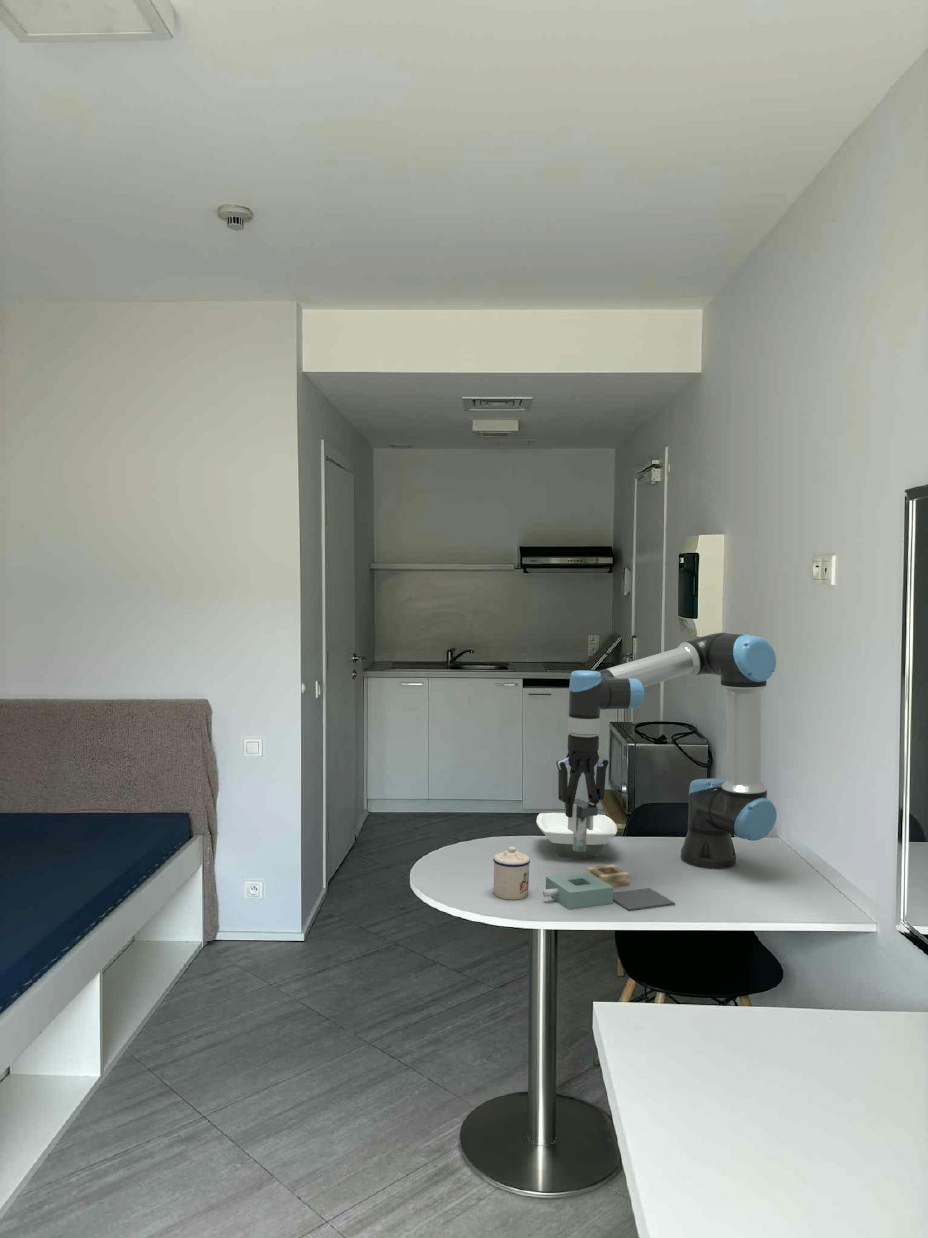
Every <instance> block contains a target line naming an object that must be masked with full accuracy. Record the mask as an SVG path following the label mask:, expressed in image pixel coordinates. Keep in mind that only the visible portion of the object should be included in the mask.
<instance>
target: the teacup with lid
mask: <svg viewBox="0 0 928 1238" xmlns="http://www.w3.org/2000/svg"><path fill="white" fill-rule="evenodd" d="M492 861H493V862H494V863H493V888H492V889H493V895H494V896H496V897H497V898H500V899H503V900H509V901H511V900H512V901H515V900H522V899H524V898H526V897H528V895H529V883H530V882H529V881H530V880H529V878H530V876H529V875H530V863H531V860H530V857H529V856H528V855H526V854H524V853H521V852H520V851H519V850H517V848H516V846H509V847H507V850H505V851H503V852H499V853H497V854H495V855H494V857H493V859H492Z"/></svg>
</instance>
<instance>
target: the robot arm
mask: <svg viewBox="0 0 928 1238" xmlns="http://www.w3.org/2000/svg"><path fill="white" fill-rule="evenodd" d="M776 667H777V657H776V653H775V650H774V648H773V647H772V645H771V644H770V643H769V641H768V640H766V639H765V638H763V637H761V636H756V635H752V634H743V633H742V634H740V633H727V632H717V633H712V634H711V633H710V634H707V635H704V636H700V637H698V638H694V639H691V640H688V641H683V642H682V643H679V644H678V645H677V648H673V649H670V650H666V651H663V652H660V653H657V654H653V655H649V656H646V657H643V658H639V659H635V660H631V661H629V662H626V663H622V664H618V665H615V666H612V667H608V668H605V669H600V670H598V671H597V670H585V669H584V670H574V671H572V672H571V674H570V678H569V687H568V692H569V694H568V695H569V696H568V697H569V698H568V724H567V725H568V726H567V727H568V728H567V729H568V733H569V734H568V736H567V751H568V752H567V754H566V756H565V758H563V760H556V762H555V763H556V767H557V769H558V772H557V773H558V776H557V777H558V779H557V780H558V782H557V783H558V790H557V791H558V801H560V802H563V803H564V804H565V803H566V808H565V812H564V813H565V814H566V816H567V817H568V829H569V830H571V831H573V832H576V811H577V805H576V804H574V800H575V799H576V796H577V791H578V785H579V781H580V778H581V777H582V774H584V776H585V784H586V785H585V786H586V793H587V798H588V800H586V801H585V802H587V803H590V804H592V805H594V806H596V807H597V805H598V804H599V803H600V801H603V800H604V799H605V792H606V791H605V789H606V773H607V768H608V765H609V760H608V759H605V758H601V757H600V754H599V753H598V751H599V748H600V745H599V744H600V737H599V734H600V721H601V720H600V716H601V710H629V709H630V710H631V709H637V708H639V707H641V706H642V704H643V702H644V700H645V688H646V687H649V686H653V685H656V684H659V683H662V682H665V681H669V680H672V679H675V678H678V677H682V676H688V677H695V676H699V675H716V676H720V686H721V688H723V689H724V690H725V692H726V764H727V765H726V775H727V776H726V777H727V778H697V779H694V780H692V781H691V782H690V783H689V791H688V817H687V818H688V820H687V833H686V836H685V839H684V842H683V845H682V847H681V850H680V859H681V860H682V861H683V862H684V863H686V864H688V865H691V866H695V867H699V868H705V869H718V870H719V869H721V870H722V869H729V868H733V867H735V866H736V865H737V854H736V850H735V846H734V842H733V839H732V835H733V836H735V837H738V838H739V839H743V840H747V841H753V842H755V841H756V842H757V841H760V840H762V839H764V838H766V837H767V836H768V835H769V834H770V832H771V831H772V830H773V829H774V827H775V825H776V822H777V818H778V817H777V815H778V814H777V813H778V812H777V808H776V805H774V803H773V801H771V800H770V799H768V788H767V786H766V785H765V783H763V782H762V779H761V778H762V767H761V766H762V763H761V762H762V760H761V759H762V755H761V754H762V752H761V751H762V746H761V745H762V741H761V739H762V732H761V729H762V727H761V720H762V718H761V717H762V715H761V714H762V713H761V708H762V707H761V706H762V705H761V693H762V691H763V690H764V689H765V688H766V687H767V680H769V679H770V678H771V677H772V676H773V673H774V672H775V671H776ZM595 766H596V769H595ZM569 767H570V768H569ZM568 769H569V779H568ZM595 770H596V773H595ZM587 829H589V830H593V816H587Z"/></svg>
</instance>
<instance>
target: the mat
mask: <svg viewBox="0 0 928 1238" xmlns="http://www.w3.org/2000/svg"><path fill="white" fill-rule="evenodd" d="M613 903H616V904H617V905H618V906H621V907H622V908H623V909H625V910H627V911H628V912H632V911H640V910H647V909H654V908H662V907H671V906H675V905H676V903H675V902H674V901H672V900H671V899H670V898H668V897H666V896H664V895H662V894H660V893H658V892H657V891H655V890H653V889H652V888H650V887H646V888H638V889H630V890H622V891H616V892H615V891H613Z"/></svg>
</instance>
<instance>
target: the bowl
mask: <svg viewBox="0 0 928 1238" xmlns="http://www.w3.org/2000/svg"><path fill="white" fill-rule="evenodd" d="M536 825H537V827H538V829H540V831H541V832H542V833H543V834H544V836H545V837H546V838H547V840H548V841H549V842H550V844H551V845H552V847H553V849H554V850H555V852H556V853H557V854H558V855H559V856H560V857H566V858H595V857H596V856H597V854H598V853H599V852H600V851H601V849H602V848H603V847H604V846H605V845H607V843H608V842H609V841H611V839H613V838H614V837H615V836H616V834H617V833H618V828H617V827H618V826H617V823H615V821H614V820H613V819H612V818H610V817H608V816H607V815H606V814H599V813H597V816H593V830H589V829H587V836H586V851H584V852H577V851H574V850H573V831H571V830H569V829H568V817H567V816H566V814H565V812H541V813H539V814H538V815H537V817H536Z"/></svg>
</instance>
